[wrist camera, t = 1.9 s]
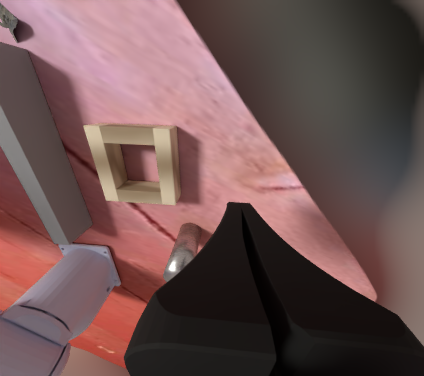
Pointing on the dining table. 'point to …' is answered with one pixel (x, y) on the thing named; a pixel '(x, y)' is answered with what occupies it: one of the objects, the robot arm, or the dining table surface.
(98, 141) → the socket block
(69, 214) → the backstop wall
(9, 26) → the driftwood
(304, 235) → the dining table surface
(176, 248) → the dowel
